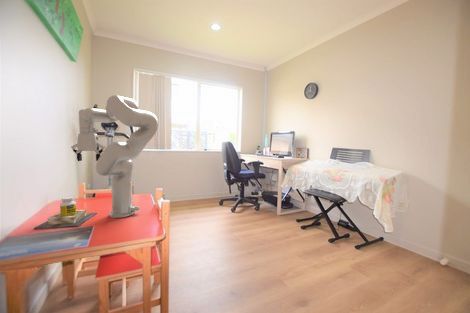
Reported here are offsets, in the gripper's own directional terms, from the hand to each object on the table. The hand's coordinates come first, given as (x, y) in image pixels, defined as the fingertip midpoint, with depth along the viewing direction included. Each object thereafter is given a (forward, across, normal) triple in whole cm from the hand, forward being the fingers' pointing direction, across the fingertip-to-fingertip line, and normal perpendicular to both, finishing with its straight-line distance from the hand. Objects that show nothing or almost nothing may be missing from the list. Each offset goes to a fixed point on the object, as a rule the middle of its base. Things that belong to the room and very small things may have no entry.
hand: (88, 160), depth 122 cm
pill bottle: (+28, +1, +20) cm, 34 cm away
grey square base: (+28, +1, +20) cm, 35 cm away
